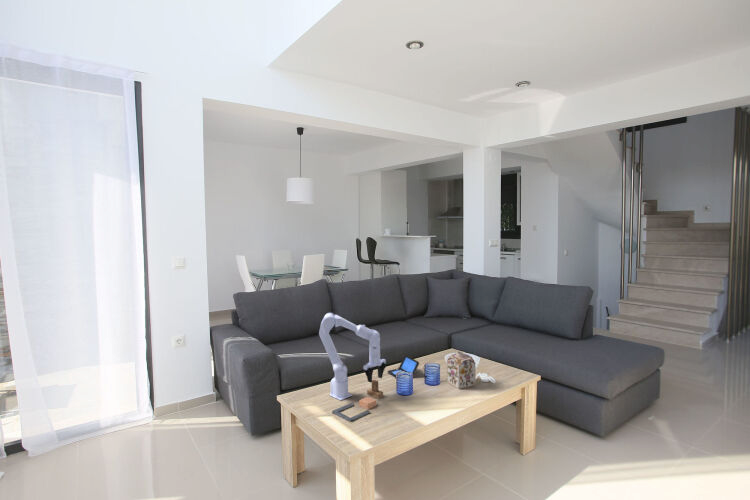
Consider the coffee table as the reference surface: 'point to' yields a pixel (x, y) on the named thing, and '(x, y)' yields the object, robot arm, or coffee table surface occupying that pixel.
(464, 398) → the coffee table surface
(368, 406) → the tile
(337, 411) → the frame
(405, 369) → the handheld game console
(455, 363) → the decorative jar
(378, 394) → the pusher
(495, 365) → the coffee table surface
